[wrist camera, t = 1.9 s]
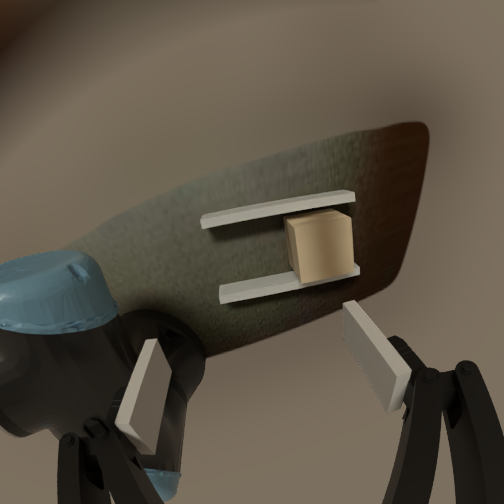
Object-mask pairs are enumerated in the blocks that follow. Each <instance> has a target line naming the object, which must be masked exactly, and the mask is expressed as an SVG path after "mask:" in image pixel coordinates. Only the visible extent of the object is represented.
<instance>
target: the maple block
mask: <svg viewBox="0 0 504 504" xmlns="http://www.w3.org/2000/svg"><path fill="white" fill-rule="evenodd" d="M283 220H284V227H285V233H286V240H287V247H288V254H289V261H290V265H291V267H292V268H293V270H294V272H295V274H296V275H297V277H298V279H299V281H300V282H301V284H303V283H308V282H313V281H317V280H322V279H326V278H330V277H335V276H339V275H343V274H348V273H352V272H354V257H353V239H352V225H351V217H348V216H346V215H344V214H342V213H340V212H338V211H336V210H334V209H332V208H329V209H323V210H317V211H311V212H306V213H300V214H294V215H289V216H283Z"/></svg>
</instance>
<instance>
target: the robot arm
mask: <svg viewBox="0 0 504 504" xmlns="http://www.w3.org/2000/svg"><path fill="white" fill-rule="evenodd" d="M118 310H119V307H118V304H117V301H115V300H114V298H113V297H112V296H111V293H110V291H109V288H108V286H107V284H106V281H105V279H104V276H103V273H102V271H101V268H100V266H99V265H98V263H97V262H96V261H95V260H94V259H93V258H92V257H91V256H89V255H88V254H86V253H84V252H80V251H75V250H59V251H50V252H44V253H38V254H34V255H29V256H25V257H22V258H18V259H15V260H11V261H8V262H5V263H3V264H1V265H0V429H1V430H2V431H4V432H5V433H6V434H8V435H10V436H12V437H15V438H23V437H26V436H29V435H31V434H34V433H36V432H39V431H41V430H44V429H49V430H50V431H51V432H52V433H53V435H54V436H55V437H56V438H57V439H58V440H59V451H58V473H57V490H58V491H57V495H58V504H111V499H110V494H111V495H112V498H113V500H114V502H115V504H164V502H165V501H168V500H170V499H172V498H173V497H174V496H175V495H176V492H177V487H178V483H179V478H180V477H181V473H180V466H181V456H182V446H183V437H184V427H185V418H186V409H187V403H188V401H189V399H190V398H191V396H192V395H193V393H194V391H195V390H196V388H197V386H198V385H199V384H200V382H201V380H202V378H203V375H204V371H205V361H206V356H205V351H204V348H203V345H202V343H201V341H200V340H199V338H198V337H197V335H196V334H195V333H194V332H193V331H192V330H191V329H190V328H189V327H188V326H187V325H185V324H184V323H183V322H181V321H179V320H178V319H176V318H174V317H172V316H170V315H167V314H164V313H161V312H157V311H152V310H136V311H132V312H128V313H126V314H124V315H122V316H119V314H118ZM343 340H344V341H345V343H346V345H347V346H348V348H349V349H350V351H351V353H352V354H353V356H354V357H355V359H356V361H357V363H358V364H359V366H360V368H361V370H362V371H363V373H364V374H365V376H366V378H367V380H368V381H369V383H370V385H371V387H372V388H373V389H374V392H375V393H376V395H377V397H378V399H379V400H380V402H381V404H382V406H383V407H384V409H385V411H386V413H387V414H388V413H390V412H393V411H395V410H398V409H400V408H401V405H402V403H403V402H404V403H405V405H406V406H407V407H406V410H405V413H404V416H403V418H402V419H404V421H403V427H402V432H401V437H400V442H399V447H398V451H397V455H396V459H395V463H394V467H393V470H392V474H391V478H390V481H389V484H388V487H387V491H386V494H385V497H384V499H383V503H382V504H428V503H429V499H430V495H431V491H432V486H433V481H434V476H435V470H436V464H437V457H438V450H439V441H440V431H441V416H442V412H443V416H444V421H445V425H446V430H447V435H448V440H449V446H450V452H451V458H452V466H453V474H454V483H455V496H456V504H504V436H503V432H502V429H501V426H500V423H499V420H498V417H497V414H496V411H495V408H494V405H493V403H492V400H491V397H490V395H489V392H488V390H487V387H486V385H485V383H484V380H483V378H482V375H481V373H480V371H479V369H478V367H477V365H476V364H475V363H473V362H472V361H467V360H465V361H461V362H459V363H458V364H457V365H456V368H455V370H452V371H447V372H439V371H438V370H436V369H434V368H427V367H426V366H425V364H424V363H423V362H422V361H421V360H420V359H419V357H418V356H417V355H416V354H415V353H414V352H413V351H412V349H411V348H410V347H408V345H407V343H406V342H405V341H404V340H403V339H401V338H399V337H397V336H392V337H389V338H386V337H385V336H384V335H383V334H382V332H381V331H380V330H379V329H378V327H377V326H376V325H375V324H374V323H373V322H372V320H371V319H370V318H369V317H368V316H367V314H366V313H365V312H364V311H363V310H362V308H361V307H360V306H359V305H358V304H357V302H356V301H355V300H353V301H349V302H345V303H343Z"/></svg>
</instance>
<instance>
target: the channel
mask: <svg viewBox="0 0 504 504" xmlns="http://www.w3.org/2000/svg"><path fill="white" fill-rule="evenodd" d="M354 201H355V192H351V191H347V190H339V191H332V192H325V193H319V194H312V195H306V196H300V197H294V198H288V199H282V200H277V201H271V202H265V203H260V204H255V205H249V206H244V207H239V208H234V209H229V210H224V211H219V212H214V213H209V214H204V215H203V216H202V217H201V219H200V221H201V226H202V229H205V228H210V227H215V226H220V225H224V224H230V223H235V222H240V221H245V220H250V219H255V218H261V217H266V216H271V215H277V214H282V213H288V212H293V211H299V210H305V209H311V208H317V207H323V206H329V205H335V204H341V203H347V202H354ZM356 275H360V267H359V266H358V265H357V264H355V263H354V272H352V273H348V274H343V275H339V276H335V277H330V278H326V279H322V280H317V281H313V282H308V283H303V284H301V282H300V281H299V279H298V277H297V275H296V274H295V272H294V271H291V272H286V273H281V274H276V275H271V276H266V277H261V278H256V279H251V280H246V281H241V282H235V283H230V284H225V285H220V288H219V299H220V303H221V304H224V303H229V302H235V301H240V300H245V299H250V298H256V297H261V296H266V295H271V294H276V293H281V292H285V291H290V290H295V289H299V288H304V287H309V286H313V285H318V284H322V283H326V282H331V281H335V280H339V279H344V278H348V277H352V276H356Z"/></svg>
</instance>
